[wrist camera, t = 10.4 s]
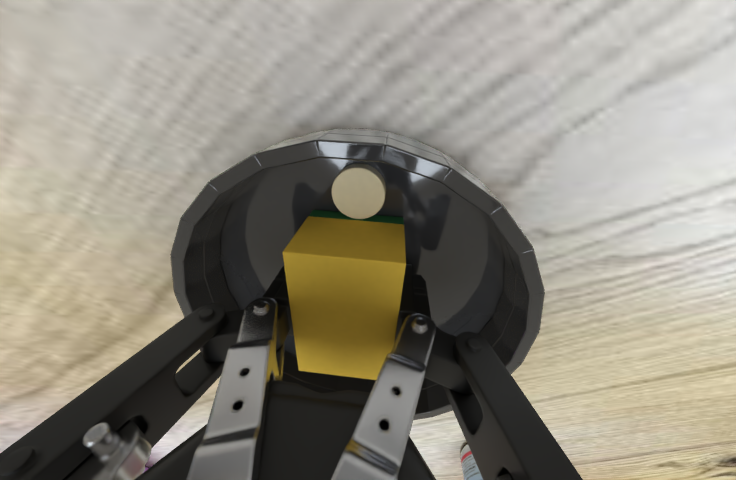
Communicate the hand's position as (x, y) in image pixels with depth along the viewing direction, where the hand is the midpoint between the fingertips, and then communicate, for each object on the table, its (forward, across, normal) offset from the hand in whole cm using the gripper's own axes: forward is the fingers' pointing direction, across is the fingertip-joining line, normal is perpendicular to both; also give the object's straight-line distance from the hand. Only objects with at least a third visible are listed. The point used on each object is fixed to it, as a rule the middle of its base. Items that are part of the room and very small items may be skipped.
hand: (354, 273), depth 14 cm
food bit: (0, 0, -5) cm, 5 cm away
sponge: (0, 0, 0) cm, 0 cm away
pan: (+1, 0, +1) cm, 2 cm away
